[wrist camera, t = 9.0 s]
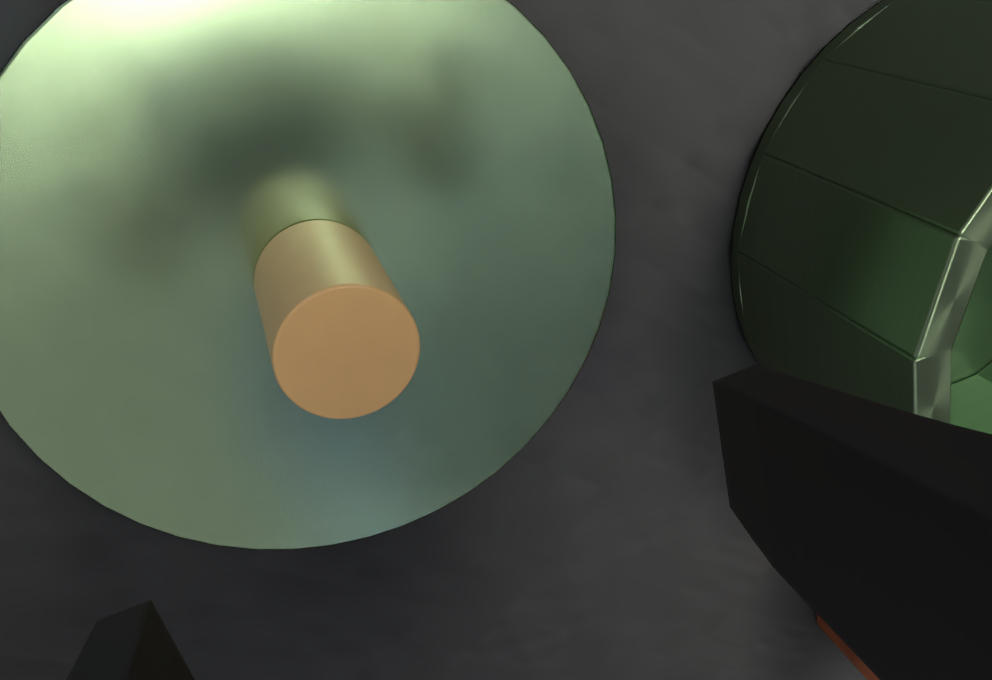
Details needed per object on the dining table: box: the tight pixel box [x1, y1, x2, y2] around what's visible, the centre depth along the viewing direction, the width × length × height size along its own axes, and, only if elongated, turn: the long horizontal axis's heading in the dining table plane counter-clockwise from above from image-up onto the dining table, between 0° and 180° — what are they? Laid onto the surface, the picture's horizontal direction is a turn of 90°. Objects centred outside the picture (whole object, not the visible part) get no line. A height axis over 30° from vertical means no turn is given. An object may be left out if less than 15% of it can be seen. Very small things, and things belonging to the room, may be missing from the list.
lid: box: [0, 0, 616, 549], centre depth 17 cm, size 13×13×5 cm
